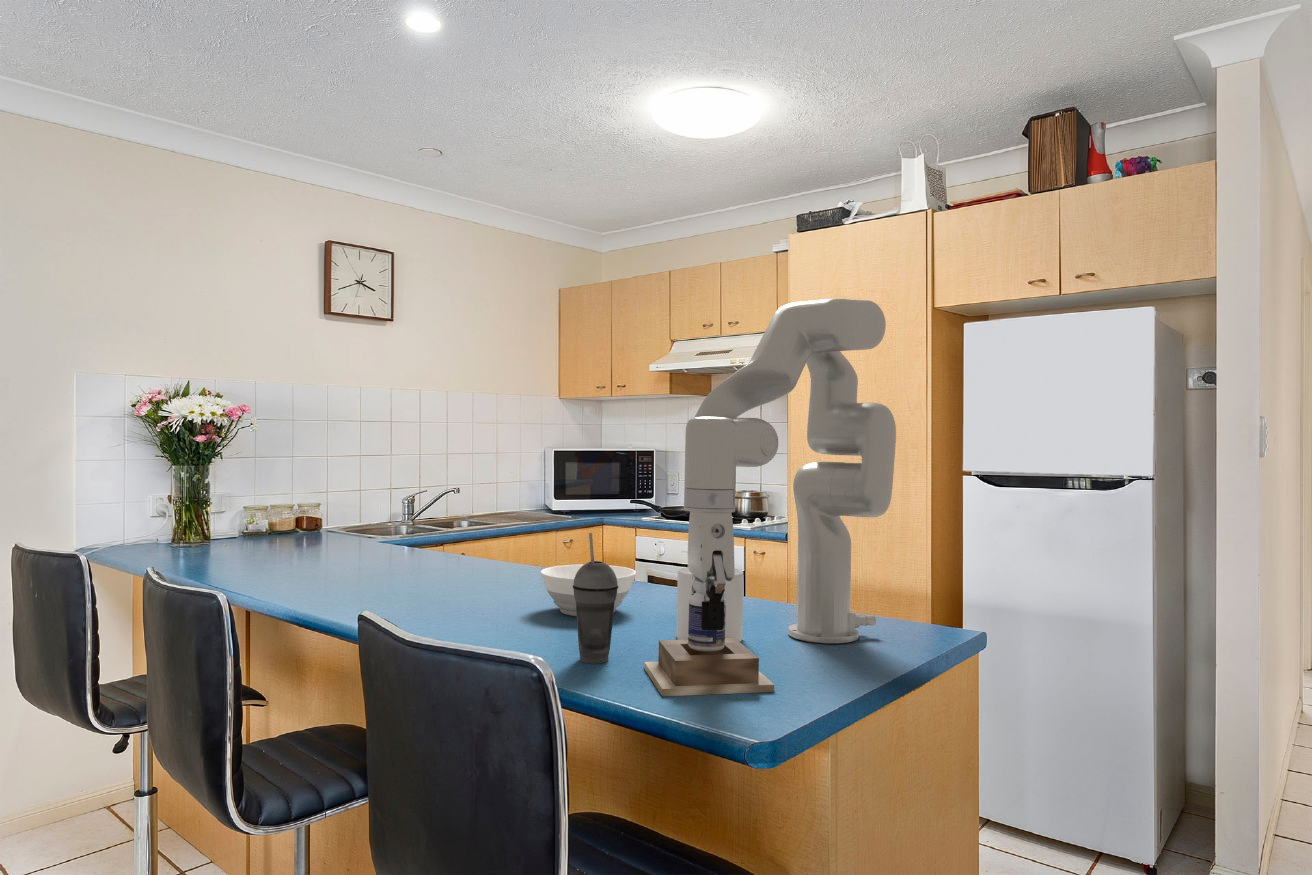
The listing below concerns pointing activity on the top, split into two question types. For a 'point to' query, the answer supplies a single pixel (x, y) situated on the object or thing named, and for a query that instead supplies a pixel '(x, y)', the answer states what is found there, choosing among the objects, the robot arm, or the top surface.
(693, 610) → the pill bottle
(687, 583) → the white cylinder
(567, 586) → the bowl
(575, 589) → the beverage cup
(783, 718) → the top surface
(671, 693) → the hole block
